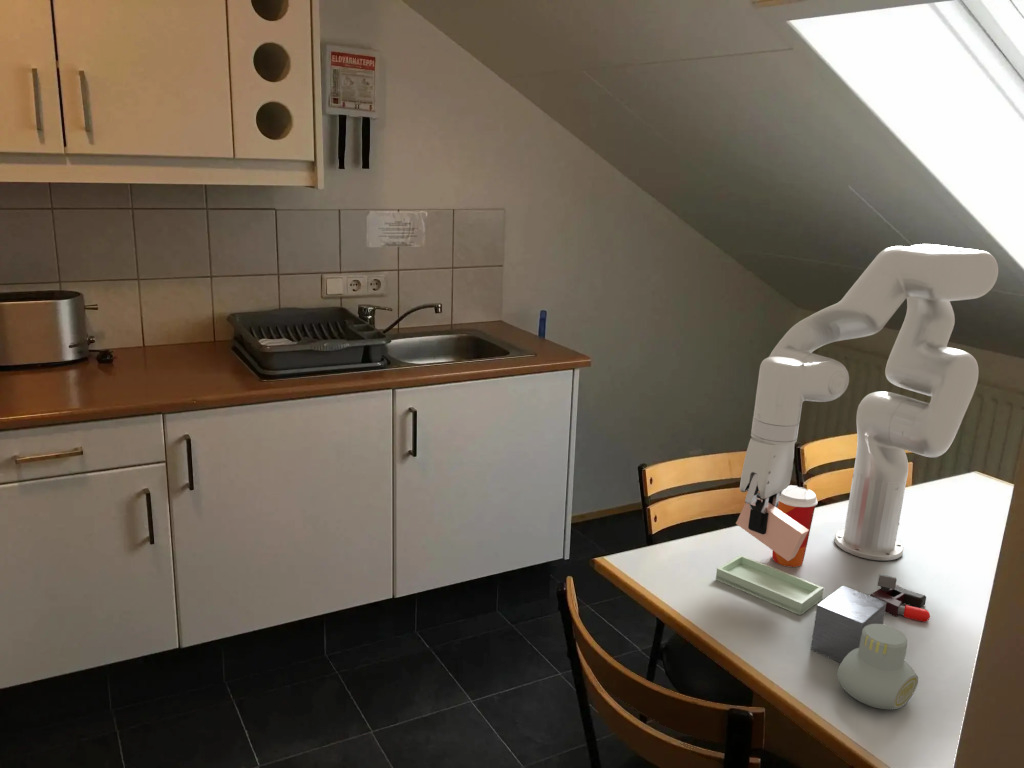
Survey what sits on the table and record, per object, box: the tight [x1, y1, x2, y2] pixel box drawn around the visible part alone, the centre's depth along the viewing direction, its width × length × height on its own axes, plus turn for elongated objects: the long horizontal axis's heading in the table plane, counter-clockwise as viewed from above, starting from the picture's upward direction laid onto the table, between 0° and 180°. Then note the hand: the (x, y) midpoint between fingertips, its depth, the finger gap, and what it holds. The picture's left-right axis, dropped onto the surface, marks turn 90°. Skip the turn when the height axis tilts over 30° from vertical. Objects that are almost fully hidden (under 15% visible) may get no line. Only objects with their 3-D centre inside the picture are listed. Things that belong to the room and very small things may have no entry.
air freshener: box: [836, 623, 919, 710], centre depth 119 cm, size 11×8×10 cm
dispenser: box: [810, 585, 887, 664], centre depth 131 cm, size 9×8×8 cm
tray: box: [715, 554, 824, 616], centre depth 149 cm, size 8×16×2 cm, turn 45°
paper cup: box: [771, 484, 818, 568], centre depth 158 cm, size 8×8×14 cm
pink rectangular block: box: [735, 498, 809, 561], centre depth 146 cm, size 2×11×6 cm, turn 45°
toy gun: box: [869, 573, 931, 623], centre depth 143 cm, size 10×12×5 cm
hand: (760, 528), depth 147 cm, fingers closed on pink rectangular block, 2 cm apart
